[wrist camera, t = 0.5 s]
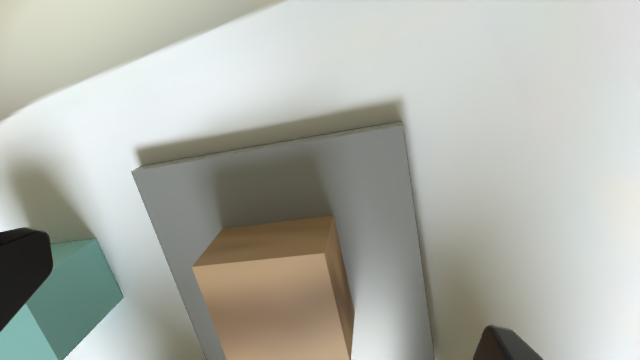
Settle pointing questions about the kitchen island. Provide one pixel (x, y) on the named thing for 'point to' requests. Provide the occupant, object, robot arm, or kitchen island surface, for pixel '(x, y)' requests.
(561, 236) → the kitchen island surface
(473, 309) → the kitchen island surface
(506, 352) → the robot arm
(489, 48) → the kitchen island surface
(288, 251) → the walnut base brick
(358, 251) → the baseplate
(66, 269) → the teal brick
